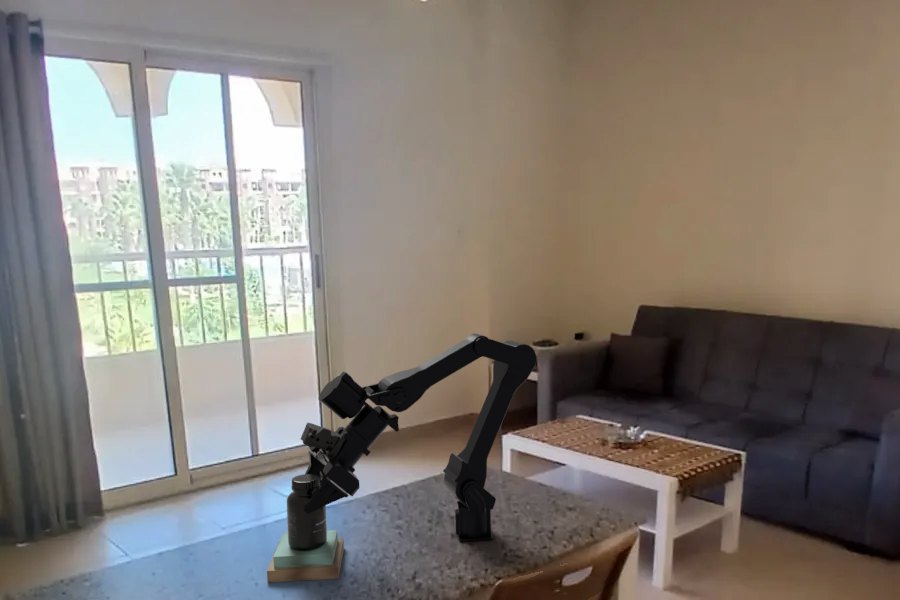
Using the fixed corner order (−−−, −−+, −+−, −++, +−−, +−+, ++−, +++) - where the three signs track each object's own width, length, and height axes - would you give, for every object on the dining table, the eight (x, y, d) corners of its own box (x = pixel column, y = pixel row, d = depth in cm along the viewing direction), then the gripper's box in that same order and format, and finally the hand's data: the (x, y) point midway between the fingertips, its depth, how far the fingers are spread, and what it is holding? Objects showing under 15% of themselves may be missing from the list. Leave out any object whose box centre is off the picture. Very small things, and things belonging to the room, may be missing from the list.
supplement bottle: (327, 550, 125) (324, 483, 124) (287, 553, 124) (284, 486, 122) (327, 534, 131) (325, 470, 130) (289, 537, 130) (286, 473, 129)
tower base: (343, 548, 134) (343, 527, 134) (338, 578, 122) (337, 555, 122) (279, 551, 134) (278, 531, 133) (267, 582, 122) (266, 559, 121)
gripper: (318, 396, 136) (261, 461, 133) (337, 419, 118) (272, 493, 116) (360, 432, 139) (306, 495, 137) (385, 459, 122) (323, 532, 119)
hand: (301, 503), depth 127 cm, fingers open, 9 cm apart
